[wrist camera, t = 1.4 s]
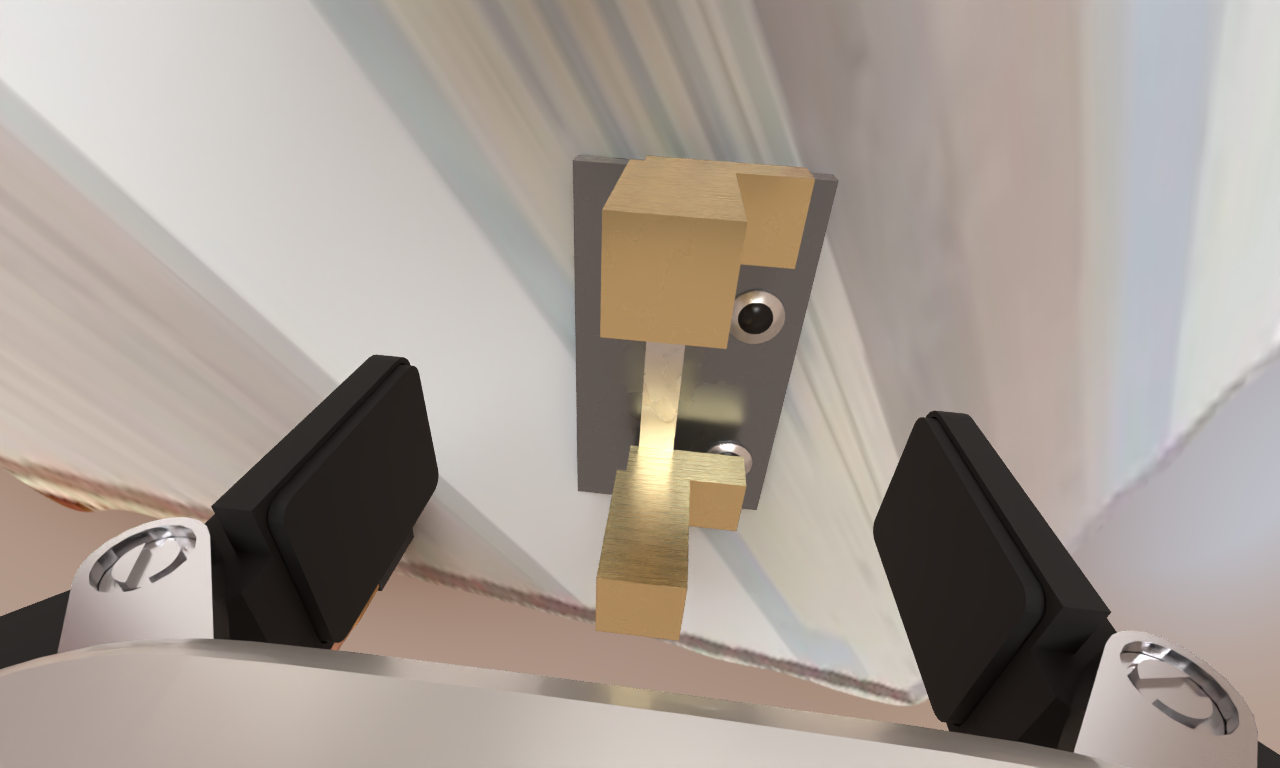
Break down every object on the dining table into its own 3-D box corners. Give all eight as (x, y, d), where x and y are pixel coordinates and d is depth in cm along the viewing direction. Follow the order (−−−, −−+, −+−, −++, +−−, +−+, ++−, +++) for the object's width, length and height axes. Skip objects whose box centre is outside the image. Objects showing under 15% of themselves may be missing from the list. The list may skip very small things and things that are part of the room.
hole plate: (578, 155, 26) (497, 237, 15) (832, 174, 25) (922, 273, 15) (581, 478, 37) (536, 646, 27) (755, 496, 37) (775, 675, 26)
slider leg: (637, 144, 23) (601, 209, 15) (802, 156, 23) (862, 231, 14) (633, 235, 26) (600, 337, 17) (784, 247, 25) (826, 358, 17)
